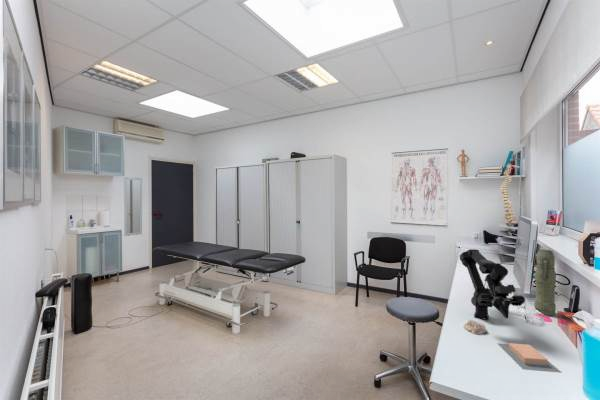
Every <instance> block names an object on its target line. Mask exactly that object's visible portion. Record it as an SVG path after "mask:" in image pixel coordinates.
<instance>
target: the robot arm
mask: <svg viewBox="0 0 600 400" xmlns="http://www.w3.org/2000/svg"><path fill="white" fill-rule="evenodd" d="M459 260H460V262H461V264H462V265H463V266H464V267H465V268H467V271H468V274H469V277H470V280H471V283H472V286H473V288H474V292H473V296H472V297H471V299H470V301H471V304H472V305H473V306H474V307H475V311H474V314H473V317H474V318H477V319H482V320H490V317H489V308H495V309H496V310H498V312H500V314H501V315H502V316H503V317H504V318H505V319H508V318H509V312H510V311H509V309H510V305H512V306H515V307H517V306H518V307H520V306H522V305H523V304H524V303H525V302H526V298H525V297H524V296H523V295H520V294H519V295H518V294H514V295H512V293H515V292H516V288H515V286H514V284H507V285H504V284H503V283H502V281H503V280H504V279H505V277H506V276H507V275H508V274H509V270H508V268H507V267H505V266H503V265H502V264H501V263H499V262H494V261H492V260H489V259H487V258H486V257H485V256H484V255H483V254H482V253H481V252H480V250H478V249H468V250H467V251H463V252H462V253H461V254H460V255H459ZM477 265H478V267H477ZM478 269H479V270H478ZM479 271H480V272H479ZM480 273H482V274H484V275H486V276H485V278H484V282H486V283H487V286H488V287H485V285H484V282H483V280H482V277H481V275H480ZM510 294H511V295H512V296H511V297H509V295H510Z"/></svg>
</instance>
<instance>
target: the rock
mask: <svg viewBox="0 0 600 400" xmlns="http://www.w3.org/2000/svg"><path fill="white" fill-rule="evenodd" d="M466 322H467V323H465V324H464V325H463V327H462V328H463V329H464V330H466V331H468V332H469V333H470V334H471V335H482V334H484V333H486V332H488V330H487V329H486V326H485V324H483V323H480V322H478V321H476V320H474V319H471V320H467V321H466Z"/></svg>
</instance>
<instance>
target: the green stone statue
mask: <svg viewBox="0 0 600 400" xmlns="http://www.w3.org/2000/svg"><path fill="white" fill-rule="evenodd" d="M555 258H556V257H555V253H554V252H553V251H552V250H550V249H539V250H538V251H537V254H536V268H535V270H534V280H535V299H534V310H535V309H536V310H538V311H539V312H541V313H542V314H544V315H543V316H545V315H546V316H547V317H555V316H556V309H557V307H556V303H555V296H556V295H555V293H556V292H555V289H556V288H555V285H556V284H557V274H556V271H555V269H556V268H555V263H556V259H555ZM546 316H545V317H546Z"/></svg>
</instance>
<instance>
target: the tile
mask: <svg viewBox="0 0 600 400" xmlns="http://www.w3.org/2000/svg"><path fill="white" fill-rule="evenodd" d="M508 344H509V350H510V351H511V352H512V353H513V354H514V355H515V356H516V357H518V358H519V359H520V360H521V361H522V362H523V363H524V364H528V365H540V366H548V361H549V360H548V358H546V357H545V356H544V355H543V354H542V353H540V352H539V351H538V350H537V349H536V348H535V347H533V345H531V344H527V343H526V344H523V343H512V342H511V343H510V342H509V343H508Z"/></svg>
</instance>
